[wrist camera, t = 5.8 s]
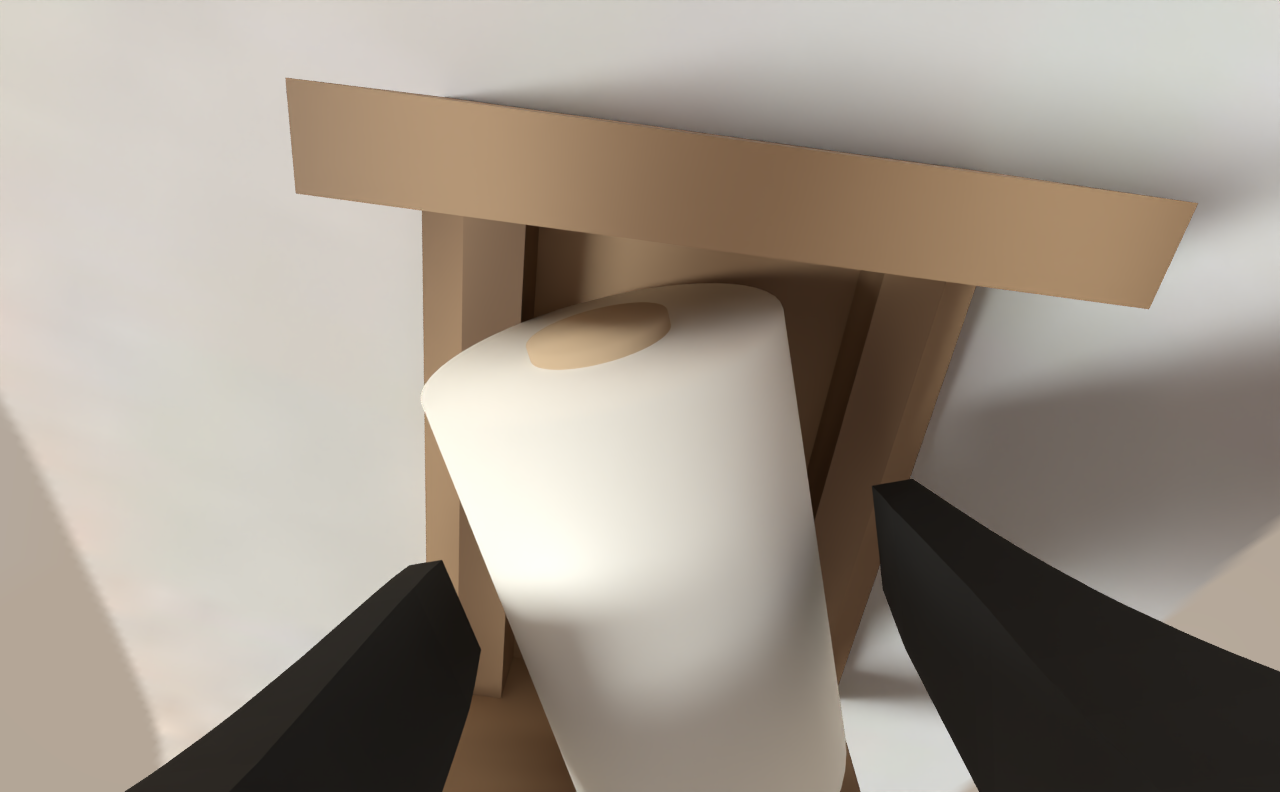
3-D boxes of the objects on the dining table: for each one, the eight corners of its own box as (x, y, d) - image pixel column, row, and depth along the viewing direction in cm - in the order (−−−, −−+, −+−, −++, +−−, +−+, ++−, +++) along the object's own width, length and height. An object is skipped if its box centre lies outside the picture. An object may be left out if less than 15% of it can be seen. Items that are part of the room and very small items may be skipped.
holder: (986, 171, 11) (1197, 202, 7) (813, 699, 17) (867, 915, 12) (440, 96, 11) (285, 77, 7) (441, 651, 17) (354, 851, 12)
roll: (729, 253, 11) (845, 331, 6) (793, 620, 14) (900, 849, 10) (451, 324, 11) (364, 453, 6) (578, 675, 14) (581, 932, 10)
